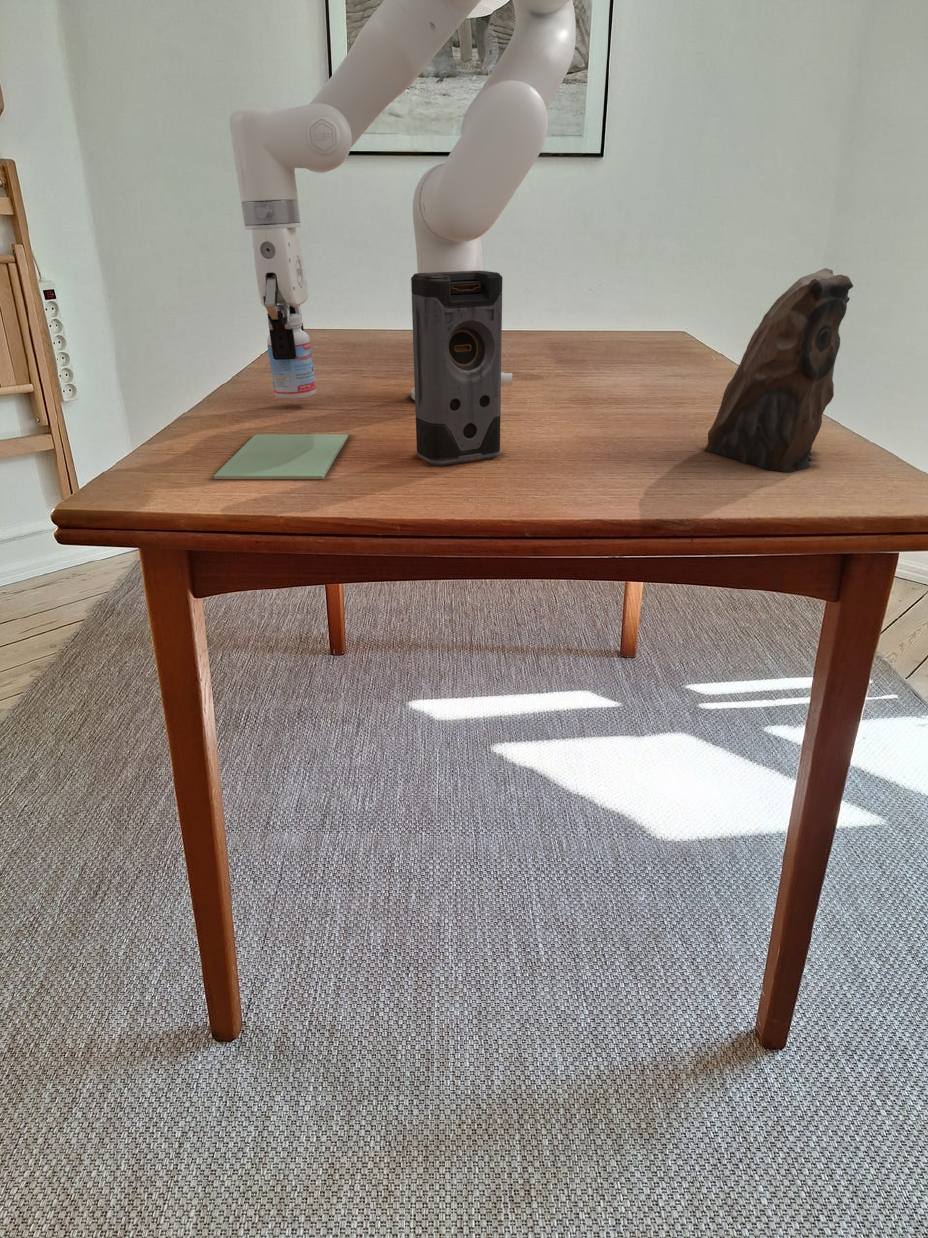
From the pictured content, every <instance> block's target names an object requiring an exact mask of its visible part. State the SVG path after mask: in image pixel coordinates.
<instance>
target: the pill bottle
mask: <svg viewBox="0 0 928 1238" xmlns="http://www.w3.org/2000/svg"><path fill="white" fill-rule="evenodd" d="M301 315H302V313H301V314H290V329H293V334H294V341H295V349H296V358H295V359H288V360H275V359H274V358H273V353H272V346H271V339H270V334H269V335H268V336H267V338H266V344H267V351H268V359H269V365H270V372H271V379H272V387H273V392H274V396H275V397H276V398H277V399H280V400H302V399H307V398H311V397H313V396H314V395H315V394H316V393H317V386H316V378H315V370H314V363H313V355H312V354H313V353H312V347H311V339H310V336H309V334H308V333H307V332H306V331H305V330H304V331H302V329H301V326H302V323H303V324H304V322H303V315H302V316H301ZM283 317H284V314H283Z"/></svg>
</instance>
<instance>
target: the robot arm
mask: <svg viewBox="0 0 928 1238" xmlns="http://www.w3.org/2000/svg"><path fill="white" fill-rule="evenodd" d="M481 1H482V0H383V1H382V2H381V3H380V5H379V6H378V7H377V9H376V10H375V11H374V12H373V13H372V14H371V16H370V17H369V18H368V19H367V21H366V23H365V24H364V25H363V26H362V28H361V30H360V31H359V33H358V34H357V36H356V38H355V40H354V42H353V43H352V46H351V47H350V49H349V51H348V53H347V54H346V56H345V57H344V58H343V60H342V61H341V63H340V64H339V66H338V67H337V68H336V69H335V71H334V72H333V74H332V75H331V76H330V77H329V79H328V80H327V82H325V84H324V85H323V86H322V88H321V89H320V90H319V92H318V93H317V94H316V95H315V97H314V98H313V99H312V100H311V101H310V103H308V104H304V105H298V106H294V107H287V108H280V109H279V108H274V107H259V106H258V107H246V108H239V109H236V110H235V111H233V112H232V113H231V114H230V117H229V130H230V132H229V133H230V137H231V145H232V151H233V158H234V164H235V170H236V177H237V184H238V191H239V197H240V205H241V212H242V217H243V218H242V219H243V224H244V230H246V231H250V230H251V237H252V249H253V258H254V267H255V275H256V276H255V277H256V284H257V289H258V295H259V299H260V304H261V305H262V307H264V308H265V309H266V311H267V312H266V313H267V314H266V316H267V322H268V329H269V330H268V332H269V335H270V339H271V346H272V353H273V358H274V359H275V360H288V359H295V358H296V349H295V341H294V334H293V329H290V314H301V316H302V317H303V315H302V311H301V305H303V304H304V303H305V302H306V301H307V300H308V299H309V293H308V284H307V279H306V273H305V267H304V261H303V254H302V248H301V244H300V239H299V233H298V230H297V228H302V221H301V213H300V204H299V200H298V199H299V195H298V190H297V189H298V188H297V180H296V172H295V171H296V169H306V170H308V171H310V172H314V173H318V174H319V173H321V174H322V173H328V172H330V171H333V170H336V169H337V168H338V167H340V166H341V165H342V164H343V163H344V162H346V160H347V158H348V156H349V154H350V152H351V149H352V147H353V146H354V145H355V144H356V143H357V141H359V139H360V138H361V137H362V136H363V134H364V133H366V130H367V129H368V128H369V127H370V126H371V125H372V123H373V122H374V121H375V120H376V119H377V117H379V115H381V113H383V111H384V110H385V109H386V108H387V107H388V106H389V105H390V104H391V103H392V102H394V100H396V99H397V98H398V97H400V95H402V94H403V93H404V92H405V91H406V90H408V88H409V87H410V86H411V85H412V84H413V83H414V82H415V81H416V79H418V78H419V76H420V75H421V74H422V72H423V71H425V69H426V68H427V66H428V65H429V64H430V63H431V62H432V60H433V58H434V57H435V56H436V55H437V54H438V53H439V52H440V50H441V49H442V48H443V47H444V46H445V45H446V44H447V42H448V41H449V39H451V37H452V36H453V35H454V33H455V32H456V31H457V30H458V29H459V28H460V26H461V25H462V24H463V22H465V21H466V19H467V18H468V17H469V15H470V14H471V13H472V12H473V10H475V9H476V7H477V6H478V5H479V3H480V2H481ZM573 1H574V0H512V5H513V8H514V18H515V19H514V21H515V22H514V24H515V25H514V29H513V33H512V35H511V38H510V40H509V42H508V44H507V46H506V47H505V49H504V51H503V53H502V54H501V57H499V59H498V62H497V63H496V65H495V67H494V68H493V70H492V71H491V72H490V74H489V76H488V78H487V79H486V81H485V82H484V84H483V86H482V87H481V89H480V90H479V92H478V93H477V94H476V96H475V97H474V98H473V100H472V101H471V103H470V104H469V106H468V107H467V109H466V111H465V113H464V115H463V119H462V122H461V127H460V128H461V129H460V137H459V138H458V140H457V142H456V143H455V145H454V146H453V148H452V149H451V151H450V153H449V154H448V156H447V157H446V159H445V160H444V162H442V163H440V164H436V165H434V166H433V167H431V168H429V169H428V170H427V171H425V173H423V175H421V178H420V179H419V180H418V182H417V185H416V187H415V190H414V193H413V199H412V222H413V230H414V240H415V253H416V267H417V268H416V269H417V273H433V272H455V271H484V257H483V245H482V236H483V235H484V234H486V233H487V232H488V231H489V230H491V228H492V226H493V225H494V224H495V223H496V222H497V220H498V219H499V217H500V216H501V214H502V213H503V211H504V210H505V209H506V207H507V205H508V204H509V202H510V201H511V199H512V198H513V196H514V195H515V193H516V192H517V190H518V189H519V187H520V185H521V184H522V183H523V181H524V179H525V178H526V176H527V174H528V173H530V170H531V169H532V167H533V165H534V164H535V162H536V161H537V159H538V158H539V155H540V153H541V151H542V149H543V147H544V144H545V142H546V138H547V135H548V127H549V117H548V110H547V109H548V107H549V105H550V104H551V103H552V100H553V99H554V96H555V95H556V94H557V92H558V90H559V88H560V87H561V85H562V83H563V81H564V79H565V78H566V76H567V74H568V71H569V70H570V67H571V64H572V62H573V58H574V55H575V50H576V44H577V43H576V42H577V25H576V23H577V22H576V12H575V7H574V2H573ZM283 314H284V317H283ZM301 329H302V331H304V332H305V329H304V322H303V323H302V326H301ZM501 387H513V373H512V372H504V371H501ZM410 398H411V399H412V400H413V401H415V387H413V388H412V389H411V390H410Z"/></svg>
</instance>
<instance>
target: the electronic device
mask: <svg viewBox="0 0 928 1238" xmlns="http://www.w3.org/2000/svg"><path fill="white" fill-rule="evenodd" d="M410 287H411V314H412V316H411V317H412V320H411V321H412V342H413V343H412V348H413V352H412V353H413V381H414V388H415V400H414V408H415V410H414V411H415V440H416V456H418V457H419V458H420V459H421V460H422V461H425V462H426V463H428V464H430V465H432V466H436V467H437V466H438V467H444V466H450V465H451V466H452V465H458V464H465V463H470V462H478V461H483V460H484V461H485V460H490V459H494V458H497V457H498V456H499V455H500V453H501V418H502V417H501V416H502V415H501V413H502V412H501V411H502V410H501V409H502V386H501V372H502V348H503V347H502V344H503V343H502V341H503V339H502V338H503V336H502V335H503V275H501V273H499V272H496V271H489V270H483V271H455V272H433V273H418V272H416V273H414V274H413V275H412V276H411V277H410Z"/></svg>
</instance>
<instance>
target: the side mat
mask: <svg viewBox="0 0 928 1238" xmlns="http://www.w3.org/2000/svg"><path fill="white" fill-rule="evenodd" d="M348 434H349V433H348ZM348 434H346V433H343V434H341V433H339V434H338V433H337V434H336V433H333V434H332V433H328V434H327V433H325V434H324V433H322V434H321V433H320V434H319V433H318V434H317V433H313V434H312V433H311V434H310V433H309V434H307V433H306V434H305V433H304V434H303V433H302V434H301V433H298V434H297V433H294V434H293V433H291V434H286V433H285V434H281V433H279V434H276V433H274V434H273V433H272V434H271V433H268V434H267V433H266V434H265V433H263V434H262V433H261V434H260V433H259V434H256V433H255V434H254V435H253V436H252V437H251V438H250V439H249V440H248V441H246V443H245V444H244V445H243V446H242V447H241V448H240V449H239V450H238V451H237V452H236V453H235V454H234V455H233V456H232V457H231V458H229V460H228V461H227V462H226V463H225V464H224V465H223V466H222V467H221V468H220V469H219V470H217V472H216V473H214V475H213V480H324V478H325V477H326V475H327V474H328V472H329V470H330V469H331V467H332V465H333V464H334V462H335V460H336V459H337V456H338V455H339V453H340V451H341V450H342V449H343V446H344V445H345V443H346V442H347V440H348V438H349V435H348Z"/></svg>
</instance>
